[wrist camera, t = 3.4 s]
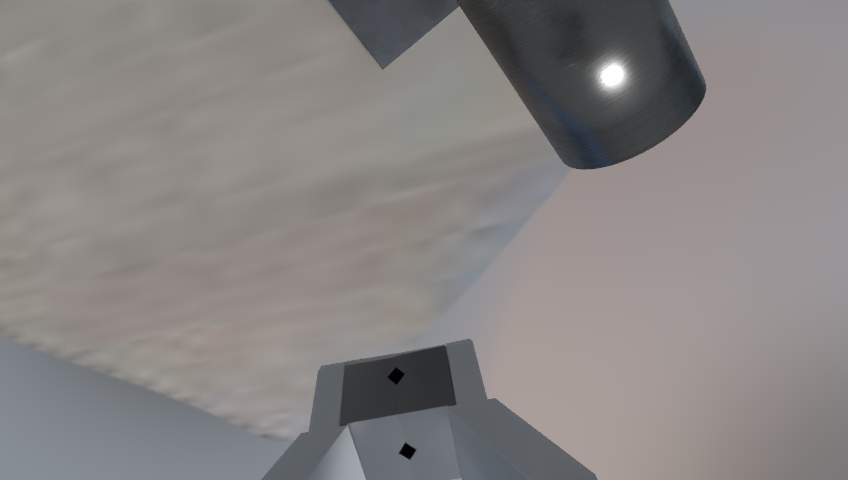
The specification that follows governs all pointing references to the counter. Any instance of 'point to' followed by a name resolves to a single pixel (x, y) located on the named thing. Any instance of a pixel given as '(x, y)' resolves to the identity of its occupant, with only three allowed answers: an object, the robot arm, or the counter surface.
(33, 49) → the counter surface
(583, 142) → the elbow
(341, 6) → the silver pedestal stand
